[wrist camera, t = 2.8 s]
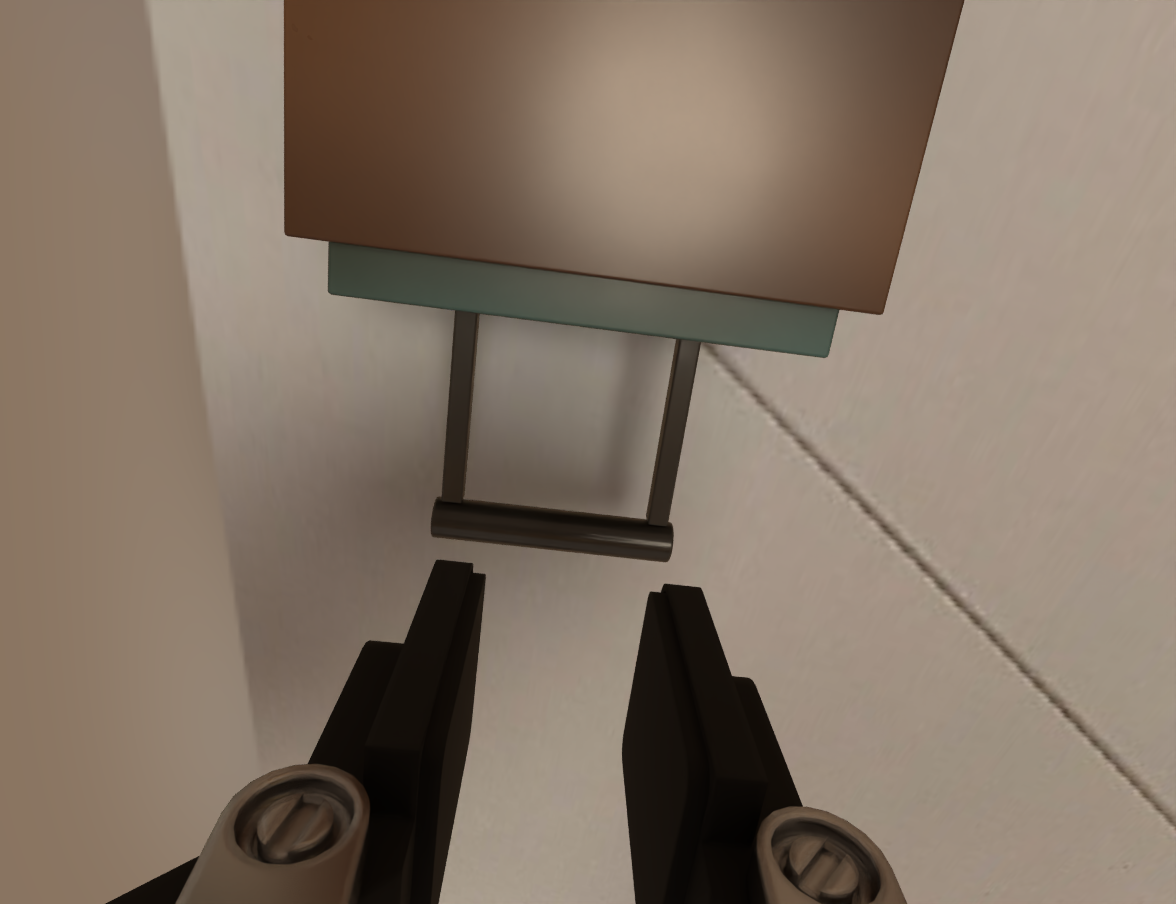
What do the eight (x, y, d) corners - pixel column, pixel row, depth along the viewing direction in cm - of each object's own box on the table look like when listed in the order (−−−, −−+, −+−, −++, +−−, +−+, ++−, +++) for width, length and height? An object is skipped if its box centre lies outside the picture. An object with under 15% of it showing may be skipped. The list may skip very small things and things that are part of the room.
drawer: (712, 513, 26) (764, 625, 19) (390, 477, 25) (321, 579, 18) (854, -190, 19) (1015, -415, 12) (426, -267, 18) (340, -553, 12)
